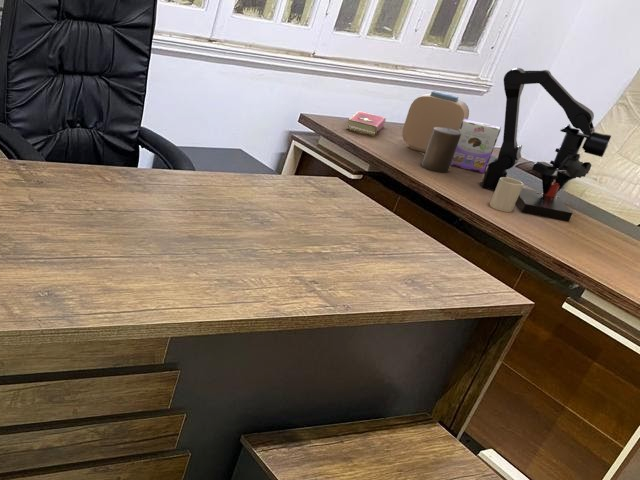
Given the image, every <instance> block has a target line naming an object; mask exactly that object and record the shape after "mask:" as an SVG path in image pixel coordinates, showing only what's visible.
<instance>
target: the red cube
mask: <svg viewBox="0 0 640 480" xmlns="http://www.w3.org/2000/svg"><path fill="white" fill-rule="evenodd" d="M559 187H560V185H559V183H555V181H553V182H552V184H551V186H550V188H549V190H548V192H547V193H546V194H544V193H543V195H545V196H548V197H555V196H556V195H557V194H558V192H559V191H558V189H559ZM557 191H558V192H557ZM556 193H557V194H556Z"/></svg>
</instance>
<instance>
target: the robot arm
mask: <svg viewBox="0 0 640 480" xmlns="http://www.w3.org/2000/svg"><path fill="white" fill-rule="evenodd" d="M532 84H534V85H535V84H539V85H540V86H542V88H543V89H544V90H545V91H546V92H547V93H548V95H550V97H552V99H553V100H554V101H555V102H556V103H557V104H558V106H560V107H561V108H562V110H563V111H564V112H565V115H566V117H567V119H568V120H569V122H570V124H567V125H566V126H564V127H562V128H560V130H559V131H560V132H561V133H565V134H564V137H563V139H562V142H561V144H560V145H559V148H555V151H554V152H556V155H555V157H554V160H550V162H549V163H548V162H546V161H536V162H535V163H533V166H532V168H531V170H532V171H534V172H536V173H539V174H540V176H541V182H542V192H543V193H544V194H546V193H547V192H548V190H549V188H550V186H551V184H552V182H554V183H559V185H560V187H559V189H558V191H557V193H556V195H558V193H559V192H560V190H561V189H562V188H563V187H564V186H565V185H566V184H567V183H568V182H569V181H571V180H574V179H576V178H578V179H581V178H582V177H583V178H585V177H586V175H588V174H589V172H590V170H591V168H592V163H591V162H589V161H585V162H583V161H580V157H581V154H580V153H579V151H580V148H581V149H583V153H586V154H589V155H593V156H597V157H600V158H603V157H604V155H605V153H606V151H607V149H608V147H609V143H610V140H611V138H612V135H611V134H605V133H601V132H596V130H595V126H594V124H593V122H594V117H595V114H594V112H593V110H592V109H591V108H589V107H588V106H586V105H585V104H583V103H582V102H579V101H578V100H577V99H575V98H574V96H572V95H571V94H570V92H569V91H567V89H566V88H565V87H564V86H563V85H562V84H561V83H560V82H559V81H558V80H557V79H556V77H554V76H553V75H552V73H551V71H550V70H549V69H542V70H524V69H523V68H521V67H515V68H513V69H510V70H508V71H507V72H506V73H505V74H504V76H503V89H504V94H505V98H506V102H505V111H504V112H505V113H504V114H505V115H504V125H503V137H502V144H501V146H500V149H499V152H498V156H497V158H495V159H494V160H492V161H491V162H489V163H488V165H487V168H486V170H485V173H484V175H483V178H482V181H479V184H480V185H481V187H482V188H483V189H486V190H487V189H488V190H493V191H495V189H496V187H497V184H498V182H499V179H500V178H501V177H507V175H508V172H507V170H510V169H512V168H513V167H514V166H515V165H517V164H518V162H519V160H520V159H521V158H522V153H521V151H522V148H523V145H522V144H521V145H518V140H517V138H518V128H519V127H518V126H519V125H518V124H519V117H520V115H519V114H520V103H521V96H522V92H523V91H524V87H525V85H532ZM571 126H572V127H571ZM584 139H585V140H584Z"/></svg>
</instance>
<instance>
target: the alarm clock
mask: <svg viewBox="0 0 640 480" xmlns="http://www.w3.org/2000/svg"><path fill="white" fill-rule="evenodd" d="M469 116H470V108H469V105H467V104H466V102H464V101H462V100H460V99H459V96H456V95H453V94H450V93H446V92H442V91H438V90H432V91H431V92H430V93H426V94H423V95H420V96H418V97H417V98H415V99H414V100H413V101H412V103H411V104H410V107H409V108H408V112H407V115H406V118H405V120H404V124H403V127H402V132H401V133H402V139H403V141H404V142H405V143H406V144H407V145H409V149H411V150H414V151H418V152H422V153H425V154H426V150H427V147H428V144H429V142H430V139H431V136H432V133H433V130H434V127H444V128H449V129H453V130H456V131H459V129H460V126H461V123H462V121H463V119H468V120H469Z"/></svg>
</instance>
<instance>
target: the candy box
mask: <svg viewBox="0 0 640 480" xmlns="http://www.w3.org/2000/svg"><path fill="white" fill-rule="evenodd" d="M501 130H502V126H499V125H494V124H491V123H485V122H482V121H477V120H472V119H469V118H468V119H463V121H462V123H461V126H460V129H459V132H460V133H461V136H460V139H459V142H458V145H457V147H456V150H455V153H454V156H453V159H452V162H451V165H450V167H451V166H453V167H456V168H460V169H465V170H469V171H473V172H476V173H477V172H478V173H482V174H485V173H486V170H487V167H488V164H489V163H490V159H491V157H492V154H493V152H494V149H495V146H496V144H497V141H498V138H499V135H500V133H501Z"/></svg>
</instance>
